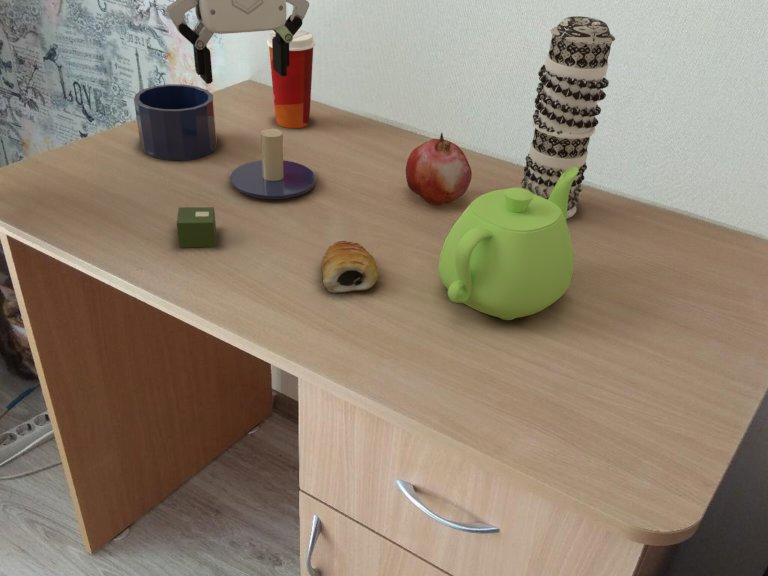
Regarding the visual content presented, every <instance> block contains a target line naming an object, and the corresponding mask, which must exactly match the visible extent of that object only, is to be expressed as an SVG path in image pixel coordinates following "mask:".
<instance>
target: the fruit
mask: <svg viewBox="0 0 768 576" xmlns="http://www.w3.org/2000/svg"><path fill="white" fill-rule="evenodd" d="M472 177H473V173H472V167H471V166H470V163H469V161H468V158H467V156H466V155H465V152H464V151H463V149H461V147H459V145H458V144H456V143H454V142H451V141H450V140H447V139H445V138H444V134H443V132H441V133H440V136H439V138H431V139H430V140H428V141H425V142H424V143H421V144H420V145H418V146H416V147H415V148H413V150H412V151H411V152H410V154H409V156H408V158H407V161H406V165H405V178H406V183H407V186H408V188H409V190H410V191H411V192H412V193H414V194H415V195H416V196H418V197H420V198H421V199H422V200H423V201H425V202H426V203H428V204H429V205H432V206H440V205H445V204H451V203H452V202H454V201H456V200H458V199H459V198H461V197H462V196H463V195H464V194H465V193H466V192H467V190H468V189H469V187H470V183H471V181H472Z"/></svg>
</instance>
